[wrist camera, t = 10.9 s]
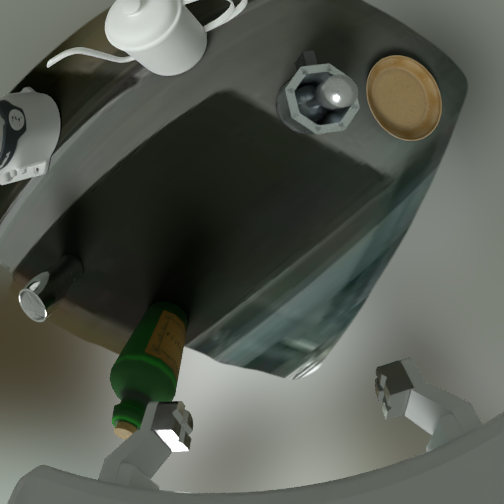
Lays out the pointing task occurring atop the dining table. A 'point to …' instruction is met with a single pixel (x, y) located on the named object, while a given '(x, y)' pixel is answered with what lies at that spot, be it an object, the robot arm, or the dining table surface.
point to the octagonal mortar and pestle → (314, 76)
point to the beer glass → (50, 288)
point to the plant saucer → (404, 97)
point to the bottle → (148, 365)
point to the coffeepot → (156, 34)
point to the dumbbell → (326, 96)
